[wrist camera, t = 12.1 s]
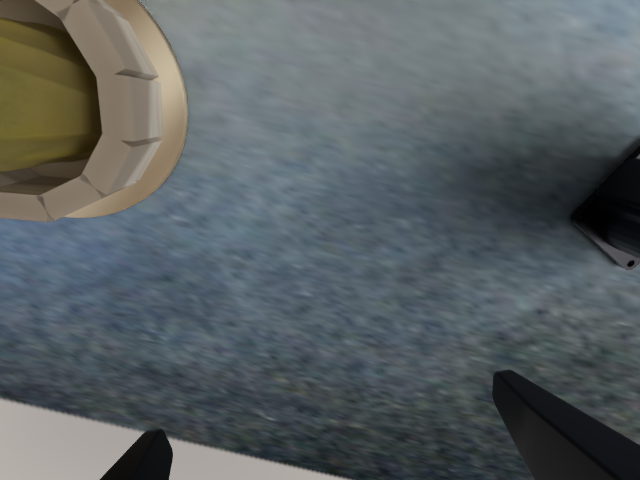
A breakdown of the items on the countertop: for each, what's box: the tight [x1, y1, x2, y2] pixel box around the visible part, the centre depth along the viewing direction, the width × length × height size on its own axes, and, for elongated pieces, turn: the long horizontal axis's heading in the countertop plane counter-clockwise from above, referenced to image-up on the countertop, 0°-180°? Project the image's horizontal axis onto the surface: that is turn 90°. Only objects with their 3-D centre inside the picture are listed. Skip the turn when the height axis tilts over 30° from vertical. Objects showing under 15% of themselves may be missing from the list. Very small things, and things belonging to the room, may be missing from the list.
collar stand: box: [0, 0, 188, 222], centre depth 15 cm, size 12×12×4 cm
